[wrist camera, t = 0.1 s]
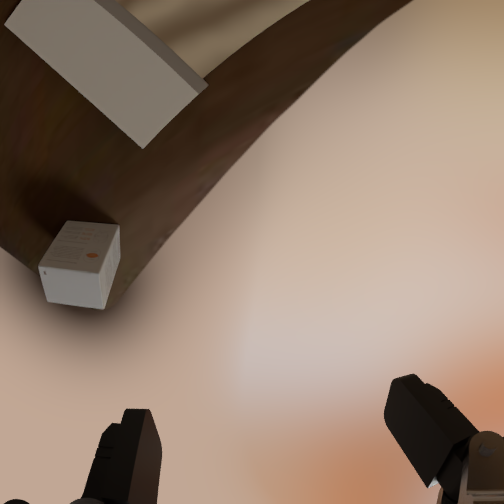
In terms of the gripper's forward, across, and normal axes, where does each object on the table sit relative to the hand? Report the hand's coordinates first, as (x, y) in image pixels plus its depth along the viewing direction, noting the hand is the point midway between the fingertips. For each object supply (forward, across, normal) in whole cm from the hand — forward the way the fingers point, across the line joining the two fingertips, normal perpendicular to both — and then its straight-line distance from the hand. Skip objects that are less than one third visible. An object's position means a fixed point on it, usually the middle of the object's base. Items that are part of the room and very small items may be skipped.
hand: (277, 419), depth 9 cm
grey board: (+24, +14, -24) cm, 37 cm away
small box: (+34, +19, 0) cm, 38 cm away
